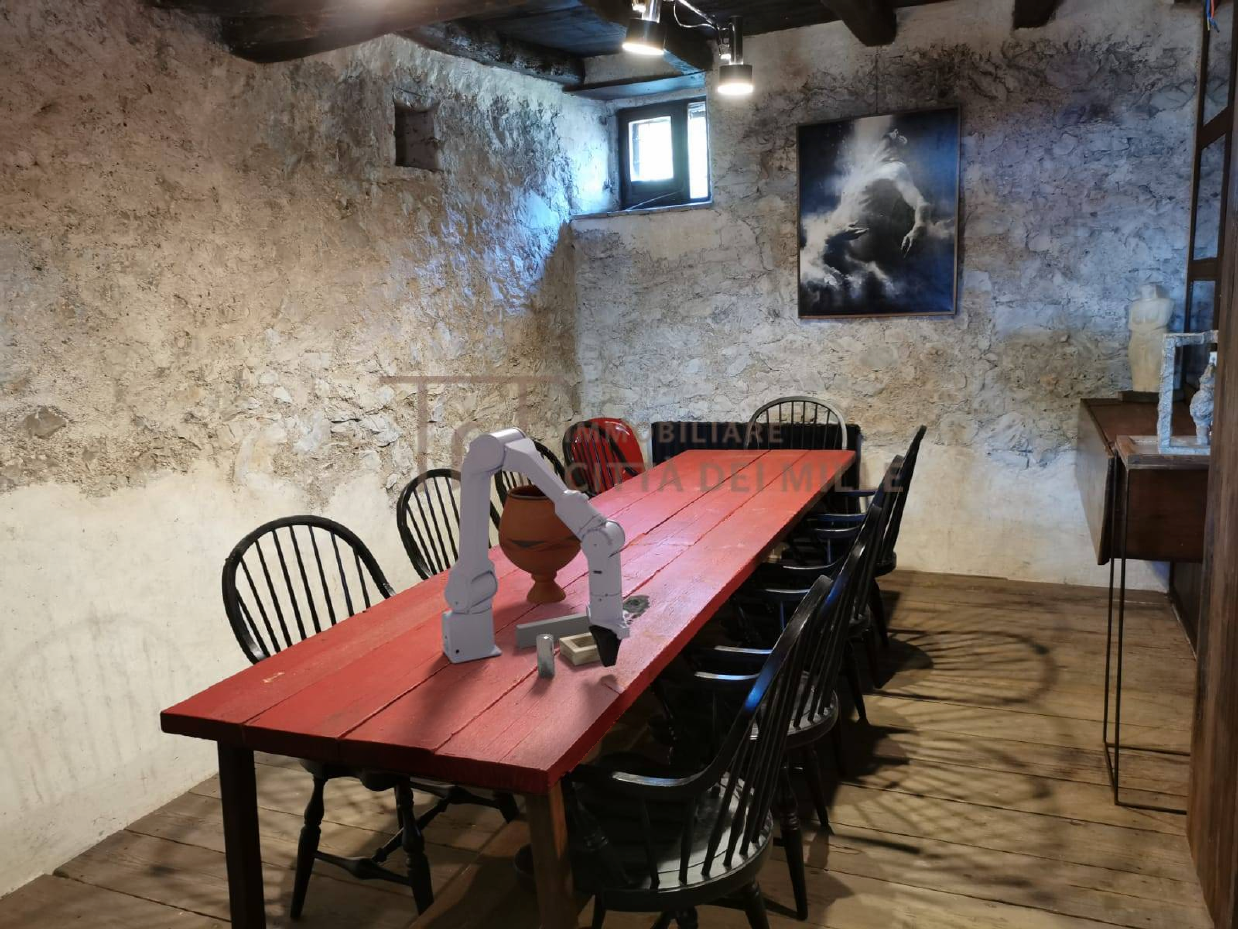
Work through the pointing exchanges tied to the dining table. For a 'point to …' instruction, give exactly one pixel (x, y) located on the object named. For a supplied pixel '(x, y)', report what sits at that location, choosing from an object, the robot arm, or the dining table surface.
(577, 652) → the socket block
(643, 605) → the driftwood
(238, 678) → the dining table surface
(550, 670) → the dowel
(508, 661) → the dining table surface
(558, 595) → the goblet
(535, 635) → the backstop wall
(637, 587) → the dining table surface
